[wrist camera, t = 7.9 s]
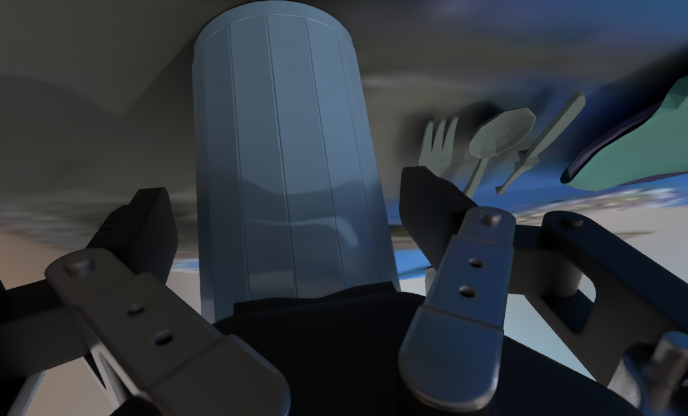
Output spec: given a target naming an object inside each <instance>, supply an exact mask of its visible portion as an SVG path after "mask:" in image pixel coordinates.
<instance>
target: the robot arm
mask: <svg viewBox="0 0 688 416" xmlns="http://www.w3.org/2000/svg"><path fill="white" fill-rule="evenodd" d="M399 213H400V218H401V222H402V224H403V225H404V227H405V228H406V229H407V231H408V232H409V234H410V235H411V237H412V238H413V239H414V241H415V242H416V244H417V245H418V247H419V248H420V249H421V251H422V252H423V254H424V255H425V256H426V258H427V259H428V261H429V262H430V264H431V265H432V266H433V268H434V269H435V271H436V272H437V273H436V275H435V277H434V280H433V282H432V284H431V287H430V289H429V292H428V294H427V296H422V295H419V294H414V293H409V292H400V291H397V290H396V288H395V286H394V285H393V283H392V281H388V282H380V283H373V284H366V285H359V286H354V287H351V288H348V289H345V290H342V291H339V292H336V293H333V294H330V295H327V296H324V297H320V298H284V297H273V298H266V299H258V300H251V301H244V302H237V303H234V308H233V315H231V316H229V317H226V318H224V319H221V320H219V321H217V322H215V323H213V324H210V323H209V322H208V321H207V320H206V319H204V318H203V317H202V316H201V315H200V314H199V313H197V312H196V311H195V310H194V309H193V308H192V307H190V306H189V305H188V304H187V303H186V302H185V301H183V300H182V299H181V298H180V297H179V296H177V295H176V294H175V293H174V292H173V291H172V290H171V289H169V288H168V287H167V286H166V281H167V278H168V275H169V272H170V269H171V266H172V263H173V260H174V257H175V254H176V251H177V247H178V235H177V229H176V225H175V220H174V216H173V212H172V208H171V204H170V199H169V195H168V192H167V190H166V188H165V187H159V188H147V189H139V190H138V191H137V193H136V194H135V196H134V197H133V199H132V200H131V202H130V204H129V205H122V206H121V207H119V208H118V209H116V210H115V211H113V212H112V213H110V214H109V216H108V217H107V218H106V220H105V221H104V224H102V225H101V227H100V228H99V230H98V232H96V234H95V235H94V237H93V238H92V239H91V241H90V242H89V244H88V245H87V247H86V248H85V249H82V250H78V251H74V252H71V253H69V254H66V255H64V256H62V257H60V258H58V259H57V260H55V261H54V262H53V263H51V264H50V265H49V266H48V267H47V268H46V270H45V272H44V274H45V277H46V279H44V280H41V281H38V282H34V283H31V284H27V285H23V286H19V287H16V288H12V289H8V290H6V289H5V288H4V286H3V284H2V282H1V280H0V416H24V415H25V413H26V410H27V408H28V407H29V404H30V403H31V401H32V398H33V397H34V395H35V393H36V391H37V388H38V387H39V385H40V383H41V381H42V379H43V376H44V374H45V371H46V370H47V369H50V368H53V367H56V366H58V365H61V364H64V363H67V362H69V361H72V360H75V359H77V358H80V357H82V359H83V361H84V363H85V365H86V366H87V368H88V369H89V371H90V372H91V374H92V375H93V377H94V378H95V380H96V381H97V383H98V384H99V385H100V387H101V388H102V390H103V391H104V393H105V394H106V396H107V397H108V399H109V400H110V402H111V403H112V405H113V407H114V409H115V411H114V412H113V413H112V414H111V415H110V416H688V283H686V282H684V281H683V280H682V279H680V278H679V277H677V276H675V275H674V274H672V273H671V272H670V271H668V270H666V269H665V268H663V267H662V266H660V265H659V264H657V263H656V262H655V261H653V260H652V259H650V258H649V257H647V256H646V255H644V254H642V253H641V252H640V251H638V250H637V249H635V248H634V247H632V246H631V245H629V244H627V243H626V242H625V241H623V240H622V239H620V238H619V237H617V236H616V235H614V234H613V233H611V232H610V231H608V230H607V229H605V228H603V227H602V226H601V225H599V224H598V223H596V222H594V221H593V220H591V219H590V218H588V217H586V216H583V215H581V214H577V213H573V212H568V211H551V212H548V213H546V214H545V215H544V218H543V221H542V225H541V226H528V225H516V219H515V217H514V216H513V215H512V214H510V213H509V212H507V211H504V210H502V209H499V208H494V207H487V206H478V205H477V204H476V203H475V202H473V201H472V200H471V199H470V198H469V197H468V196H466V195H465V194H464V193H463V192H462V191H461V190H459V189H458V188H457V187H456V186H455V185H454V184H452V183H451V182H449V181H447V180H444V179H442V178H440V177H439V178H438V177H437V176H436V175H435V174H434V173H432V172H431V171H430V170H429V169H428V168H427V167H426V166H417V167H405V168H404V169H403V171H402V175H401V189H400V204H399ZM583 274H585V275H586V276H587V277H588V278H589V279H590V280H591V281H592V282H593V284H594V286H595V289H596V298H595V301H594V303H593V302H592V301H591V300H590V299H588V298H587V297H586V296H585V295H584V294H583V293H582V292H581V291H580V290H579V289H578V286H579V284H580V281H581V278H582V275H583ZM508 293H509V294H520V295H525V297H526V299H527V300H528V301H529V302H530V304H531V305H532V306H533V307H534V308H535V310H536V311H537V312H538V313H539V314H540V315H541V317H542V318H543V319H544V320H545V321H546V322H547V323H548V325H549V326H550V327H551V328H552V329H553V331H554V332H555V333H556V334H557V335H558V336H559V338H560V339H561V340H562V341H563V342H564V343H565V345H566V346H567V347H568V348H569V349H570V350H571V352H572V353H573V354H574V355H575V356H576V357H577V359H578V360H579V361H580V362H581V363H582V364H583V366H584V367H585V368H586V369H587V370H588V371H589V373H590V374H591V375H592V376H593V377H594V378H595V379H596V381H597V382H596V381H594V380H592V379H590V378H588V377H586V376H584V375H582V374H580V373H578V372H576V371H574V370H572V369H570V368H568V367H566V366H565V365H562V364H561V363H558V362H557V361H555V360H553V359H550V358H549V357H547V356H545V355H543V354H541V353H539V352H537V351H535V350H533V349H531V348H529V347H527V346H525V345H523V344H521V343H519V342H517V341H515V340H513V339H511V338H509V337H507V336H505V335H504V330H503V325H504V318H505V311H506V304H507V297H508Z"/></svg>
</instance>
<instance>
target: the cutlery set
mask: <svg viewBox="0 0 688 416" xmlns="http://www.w3.org/2000/svg"><path fill="white" fill-rule="evenodd" d="M585 103H586V100H585V96H584V93H583V91H582V90H576V92H575V93H574V94H573V95H572V97H571V98H570V99H569V100H568V102H567V103H566V104H565V105H564V107H563V108H562V109H561V110H560V112H559V113H558V114H557V115H556V117H555V118H554V119H553V120H552V122H551V123H550V124H549V125H548V127H547V128H546V129H545V130H544V132H543V133H542V134H541V135H540V137H539V138H538V139H537V140H536V141H535V143H534V144H533V145H532V146H531V148H530V149H527V150H522V151H518V154H519V157H520V161H517V162H515V166H514V172H513V173H512V174H511V175H510V177H509V178H508V180H507V181H506V182H505V183H504V184H503V185H502V186H499V187H495V188H496V192H497V195H499V194H505V193H506V192H505V190H506V189H507V188H508V186H509V185H510V183H511V182H512V181H514V180H515V179H516V178H518V176H519V175H520V174H521V173H522V172H524V171H527V170H530V169H532V165H533V164H539V163H540V161H539V158H538V154H540V153H541V152H542V151H543V150H544V149H545V148H546V147H548V146H549V145H550V144H551V143H552V142H553V141H554V140H555V139H556V138H557V137H558V136H559V135H560V134H561V133H562V132H563V130H564V129H565V128H566V127H567V126H568V125H569V124H570V123H571V122H572V120H573V119H574V118H575V117H576V116H577V115H578V114H579V112H580V111H581V110H582V109H583V107H584V106H585ZM535 119H536V116H535V115H534V114H533V113H532V112H531V111H530V110H529V109H528V108H527V107H525V108H516V109H511V110H506V111H501V112H499V113H498V114H496V115H494V116H493V117H491V118H490V119H488V120H487V121H485V122H484V123H482V124H480V126H479V127H478V128H477V129H476V131H475V132H474V133H473V134H472V135H471V137H470V138H469V154H470V155H472V156H474V157H477V158H479V159H480V160H479V162H478V164H477V166H476V168H475V170H474V172H473V174H472V177H471V179H470V181H469V182H468V184H467V186H466V187H465V189H464V191H463V193H464V194H465V195H466V196H468V197H469V198H470V199H472V197H473V195H474V193H475V191H476V189H477V187H478V185H479V183H480V180H481V177H482V175H483V172H484V170H485V168H486V165H487V162H488V159H489V157H493V156H497V155H499V154H501V153H503V152H505V151H507V150H508V149H510V148H512V147H514V146H516V145H517V144H518V143H519V142H520V141H521V140H522V139H523V138H525V137H526V136H527V135H528V134H529V133H530V132H531V130H532V128H533V125H534V122H535ZM457 121H458V115H456V116H453V117H452V119H451V120H450V122H449V124H448V127H447V130H446V132H445V135H444V138H443V133H444V127H445V122H446V119H445V118H441V119H440V121H439V122H438V124H437V127H436V130H435V134H434V137H433V140H432V129H433V120H430V121H428V123H427V125H426V127H425V130H424V134H423V138H422V142H421V145H420V148H419V150H418V152H417V158H416V159H417V164H418V166H426V167H427V168H428V169H429V170H430V171H431V172H432V173H434V174H435V175H436V176H437V175H442V174H441V169H440V168H443V167H446V166H448V165H451V164H452V152H453V143H454V135H455V129H456V124H457ZM687 173H688V75H686V76H684V77H682V78H680V79H678V80H677V82H676V83H675V84H674V85H673V87H672V88H671V89H670V91H669V92H668V94H667V95H666V97H665V98H664V99H662V100H660V101H658V102H656V103H654V104H652V105H651V106H649V107H647V108H645V109H643V110H641V111H639V112H637V113H636V114H634V115H632V116H630V117H628V118H626V119H624V120H623V121H621V122H620V123H619V124H617V125H616V126H614V127H613V128H612V129H610V130H609V131H607V132H606V133H605V134H603V135H602V136H600V137H599V138H597V139H596V140H595V141H593V142H592V143H590V144H589V145H588V146H587V147H585V148H584V149H583V150H582V151H581V153H580V154H579V155H578V156H577V158H576V159H575V160H574V161H573V162H572V163H571V164H570V165H569V166H568V167H567V168H566V170H565V171H564V172H563V173H562V175H561V178H560V181H561V183H562V184H565V185H568V186H571V187H575V188H578V189H582V190H588V191H600V190H604V189H608V188H611V187H614V186H620V185H627V184H634V183H642V182H649V181H654V180H659V179H663V178H668V177H673V176H678V175H683V174H687Z"/></svg>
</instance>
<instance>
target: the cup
mask: <svg viewBox="0 0 688 416" xmlns="http://www.w3.org/2000/svg"><path fill="white" fill-rule="evenodd" d="M192 83H193V110H194V136H195V163H196V190H197V217H198V244H199V271H200V296H201V297H200V298H201V316H202V317H203V318H204V319H206V320H207V321H208V322H209V323H210V324H213V323H215V322H217V321H219V320H221V319H224V318H226V317H229V316H231V315H233V308H234V303H237V302H244V301H251V300H258V299H266V298H273V297H284V298H320V297H324V296H327V295H330V294H333V293H336V292H339V291H342V290H345V289H348V288H351V287H354V286H359V285H366V284H373V283H380V282H388V281H392V283H393V285H394V286H395V288H396V290H397V291H400V292H401V287H400V282H399V277H398V271H397V266H396V261H395V256H394V250H393V245H392V240H391V235H390V229H389V224H388V219H387V214H386V208H385V203H384V198H383V193H382V187H381V182H380V177H379V172H378V166H377V161H376V156H375V151H374V145H373V140H372V135H371V130H370V124H369V119H368V114H367V109H366V103H365V98H364V93H363V88H362V82H361V77H360V72H359V67H358V62H357V57H356V51H355V47H354V43H353V40H352V38H351V36H350V34H349V33H348V31H347V30H346V29H345V27H344V26H343V25H342V24H341V23H340V22H339V21H338V20H337V19H335V18H334V17H332V16H331V15H329V14H328V13H326V12H324V11H322V10H320V9H318V8H315V7H313V6H310V5H307V4H303V3H298V2H292V1H284V0H267V1H257V2H252V3H247V4H244V5H241V6H237V7H234V8H232V9H230V10H228V11H226V12H224V13H222V14H220V15H219V16H217V17H216V18H214V19H213V20H212V21H211V22H210V23H208V24H207V25H206V27H205V28H204V29H203V30H202V31H201V33H200V34H199V36H198V38H197V40H196V42H195V46H194V49H193V65H192Z"/></svg>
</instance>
